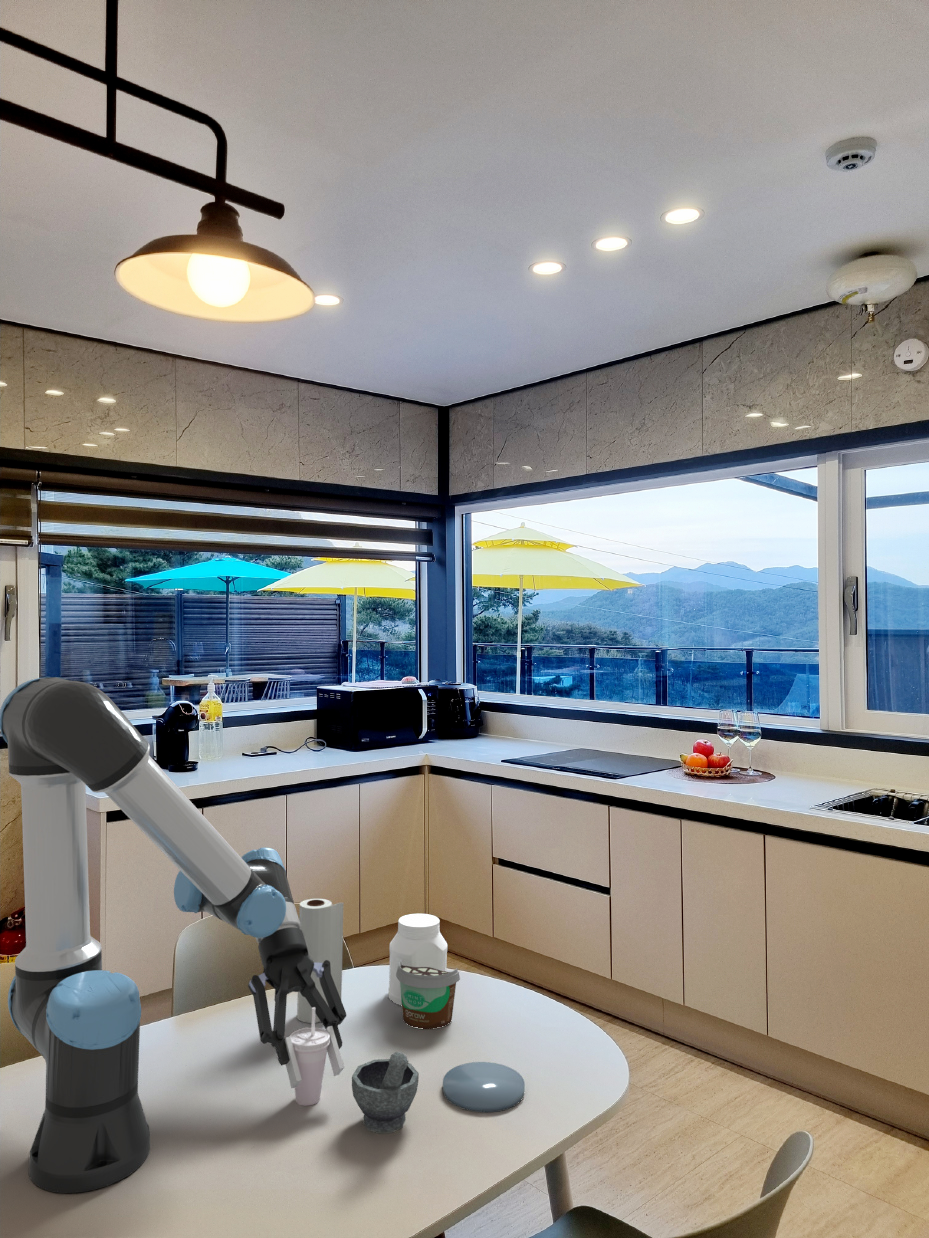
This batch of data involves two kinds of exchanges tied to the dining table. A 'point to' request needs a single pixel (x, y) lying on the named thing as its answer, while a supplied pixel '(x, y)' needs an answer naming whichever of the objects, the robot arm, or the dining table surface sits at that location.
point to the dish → (483, 1087)
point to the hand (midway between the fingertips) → (318, 1077)
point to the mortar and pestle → (385, 1092)
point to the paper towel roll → (321, 945)
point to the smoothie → (310, 1061)
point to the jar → (416, 948)
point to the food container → (427, 995)
